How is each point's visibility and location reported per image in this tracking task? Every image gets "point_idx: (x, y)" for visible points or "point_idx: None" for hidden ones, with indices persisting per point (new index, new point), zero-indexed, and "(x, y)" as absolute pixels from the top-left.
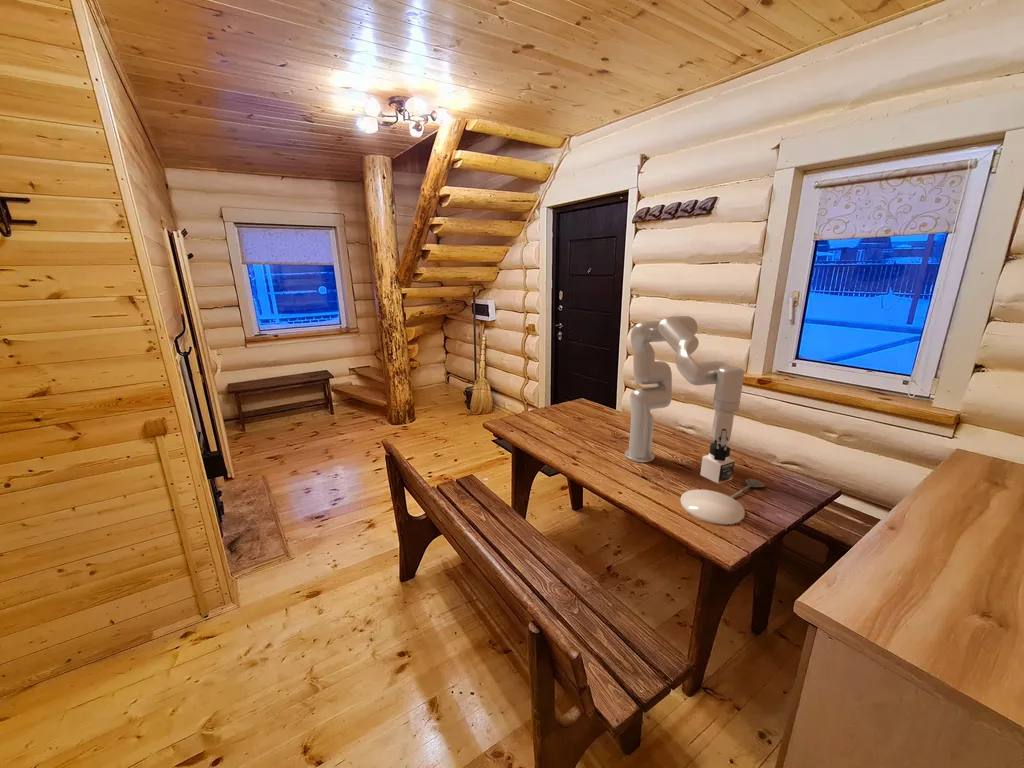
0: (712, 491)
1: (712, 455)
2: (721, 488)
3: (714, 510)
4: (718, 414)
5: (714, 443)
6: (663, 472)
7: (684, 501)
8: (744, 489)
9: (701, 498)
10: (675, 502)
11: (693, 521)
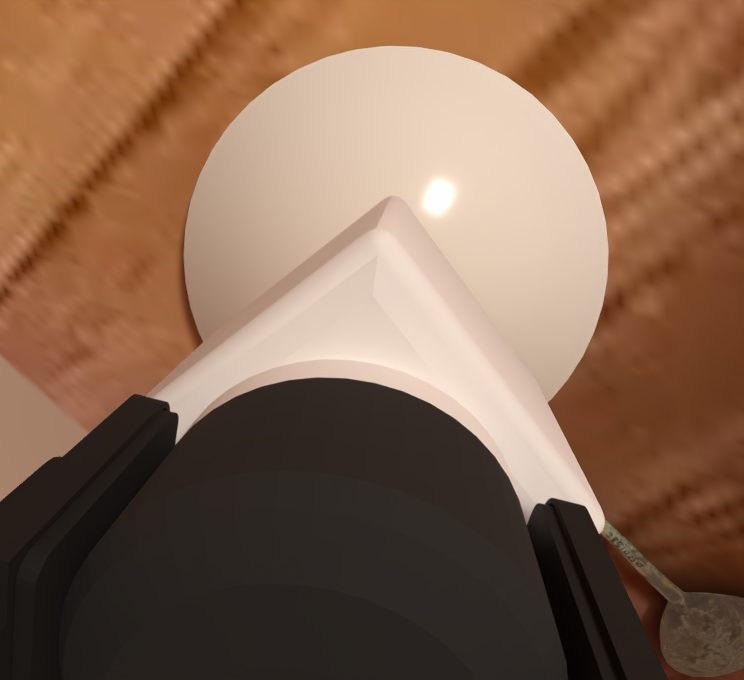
0: (581, 339)
1: (229, 399)
2: (666, 420)
3: None
4: None
5: (380, 635)
6: None
7: (399, 74)
8: (619, 551)
9: (465, 227)
10: (423, 8)
11: (183, 97)
